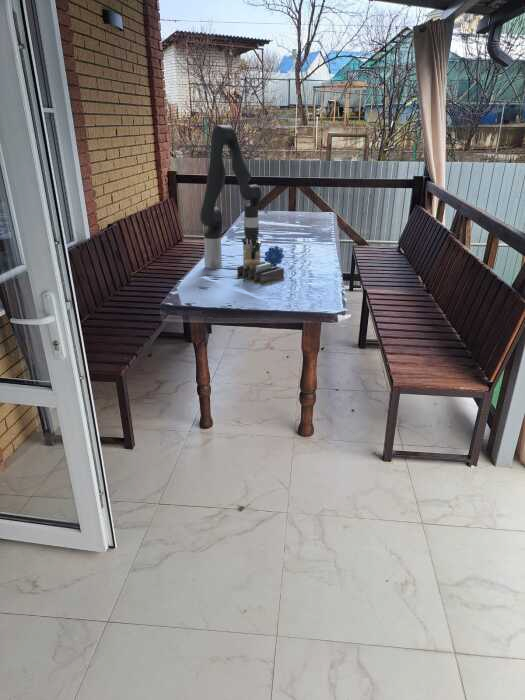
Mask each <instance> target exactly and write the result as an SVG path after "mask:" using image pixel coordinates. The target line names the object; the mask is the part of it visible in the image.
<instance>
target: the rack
mask: <svg viewBox="0 0 525 700" xmlns="http://www.w3.org/2000/svg"><path fill="white" fill-rule="evenodd" d="M236 268H237V269H236V273H237V274H236V275H234V277H236V278H240V279H242V280H245V281H249V282H252V283H254V284H258V285H260V286H265V285H268V284H271V283H275V282H278V281H282V280H285V279H287V277H286V276H285V268H284V267H281V268H279V266H278V265H277V266H273V265H271V268H268V269H264V270H261V271H257V272H256V269H252V270H250V267H247V268H244V266H243V264H242V265H240V266H237V267H236Z"/></svg>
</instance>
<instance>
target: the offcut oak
mask: <svg viewBox="0 0 525 700" xmlns="http://www.w3.org/2000/svg"><path fill="white" fill-rule="evenodd" d="M265 263H266V262H265V260H260V262H256V263H252V264H250V270H252V269H256V266H257V265H261V264H265Z"/></svg>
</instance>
